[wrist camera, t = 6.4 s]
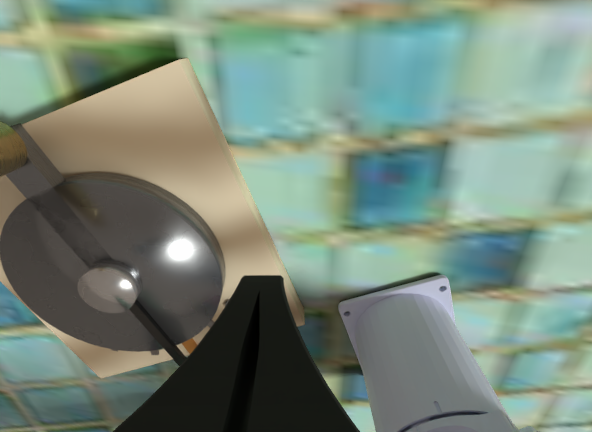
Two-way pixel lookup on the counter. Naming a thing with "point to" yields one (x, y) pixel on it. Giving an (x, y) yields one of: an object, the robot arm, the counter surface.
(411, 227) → the counter surface
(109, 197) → the metal pan with handle
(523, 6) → the counter surface
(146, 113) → the stand
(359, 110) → the counter surface
